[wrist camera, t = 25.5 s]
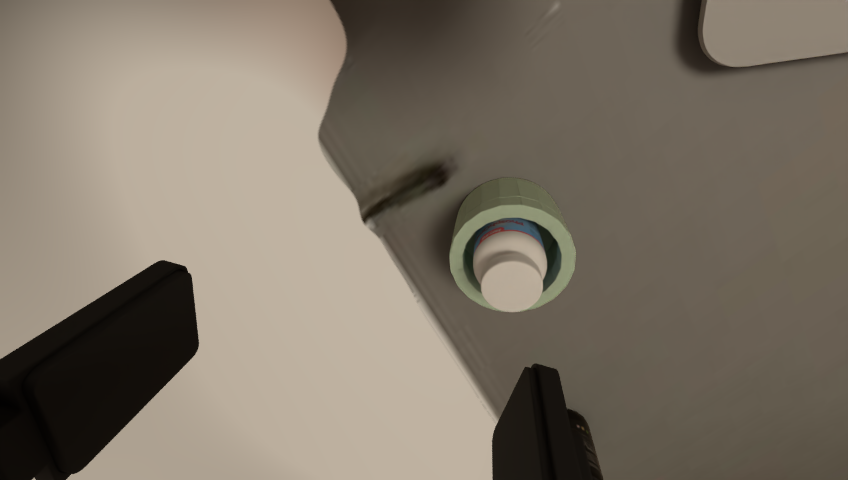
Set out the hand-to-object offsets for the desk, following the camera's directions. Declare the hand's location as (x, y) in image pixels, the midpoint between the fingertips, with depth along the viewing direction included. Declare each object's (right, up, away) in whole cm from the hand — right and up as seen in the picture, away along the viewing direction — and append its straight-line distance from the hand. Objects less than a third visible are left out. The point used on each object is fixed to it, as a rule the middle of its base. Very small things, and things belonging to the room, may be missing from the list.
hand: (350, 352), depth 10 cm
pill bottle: (+10, +5, +27) cm, 30 cm away
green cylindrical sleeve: (+11, +5, +28) cm, 30 cm away
